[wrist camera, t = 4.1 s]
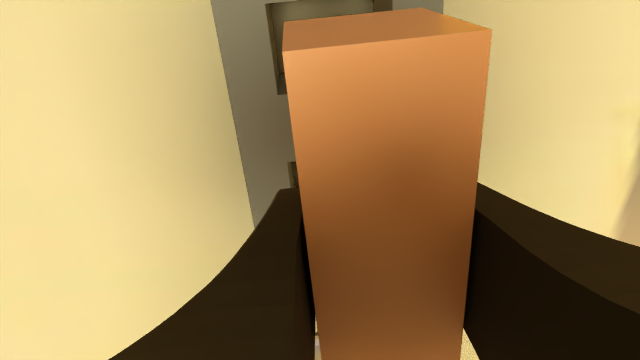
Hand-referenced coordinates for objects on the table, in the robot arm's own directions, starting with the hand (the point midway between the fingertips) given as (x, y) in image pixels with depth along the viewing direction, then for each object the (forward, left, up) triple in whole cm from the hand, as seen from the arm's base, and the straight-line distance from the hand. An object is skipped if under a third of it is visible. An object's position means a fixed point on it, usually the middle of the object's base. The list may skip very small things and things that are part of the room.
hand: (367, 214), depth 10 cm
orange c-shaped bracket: (0, 0, -4) cm, 4 cm away
